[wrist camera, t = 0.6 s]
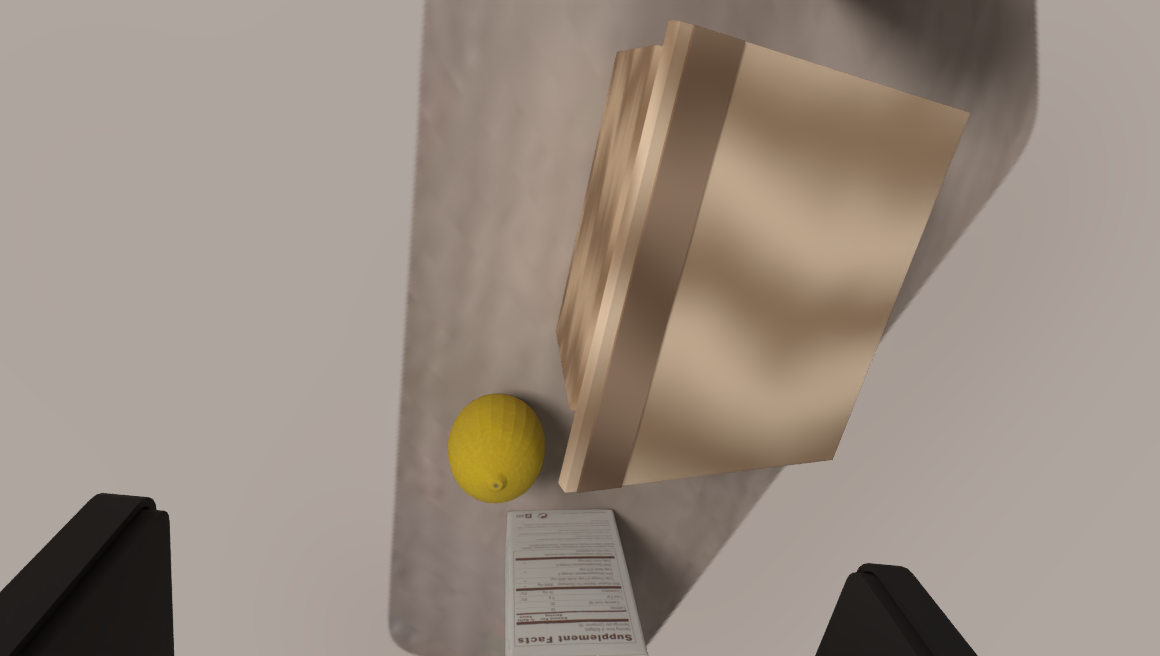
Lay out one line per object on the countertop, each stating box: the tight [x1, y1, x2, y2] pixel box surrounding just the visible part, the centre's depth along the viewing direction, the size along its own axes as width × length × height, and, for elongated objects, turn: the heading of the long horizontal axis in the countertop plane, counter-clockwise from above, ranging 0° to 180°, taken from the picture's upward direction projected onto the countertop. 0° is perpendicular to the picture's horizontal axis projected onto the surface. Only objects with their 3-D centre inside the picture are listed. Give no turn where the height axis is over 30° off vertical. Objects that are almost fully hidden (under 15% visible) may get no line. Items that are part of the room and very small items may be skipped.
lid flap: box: [558, 21, 970, 493], centre depth 26 cm, size 17×15×1 cm
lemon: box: [448, 394, 545, 503], centre depth 38 cm, size 6×6×8 cm
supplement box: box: [505, 509, 648, 656], centre depth 40 cm, size 7×7×13 cm
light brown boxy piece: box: [556, 45, 663, 411], centre depth 34 cm, size 16×13×10 cm
